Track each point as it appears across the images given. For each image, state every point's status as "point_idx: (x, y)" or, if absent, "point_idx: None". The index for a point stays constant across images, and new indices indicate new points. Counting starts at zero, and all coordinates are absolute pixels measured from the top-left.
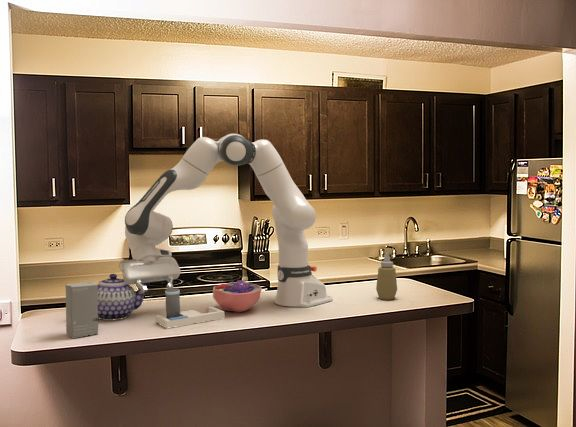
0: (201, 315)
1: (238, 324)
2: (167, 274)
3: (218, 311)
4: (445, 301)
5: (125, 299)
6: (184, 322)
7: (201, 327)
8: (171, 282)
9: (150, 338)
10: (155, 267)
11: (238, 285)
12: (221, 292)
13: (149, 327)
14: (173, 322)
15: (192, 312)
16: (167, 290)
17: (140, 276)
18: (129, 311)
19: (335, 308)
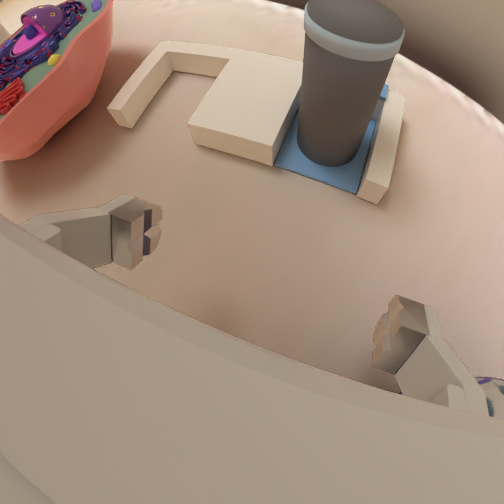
0: (251, 51)
1: (209, 12)
2: (32, 238)
3: (169, 49)
4: (3, 4)
5: (494, 380)
6: None
7: (299, 47)
8: (94, 210)
9: (478, 106)
10: (15, 447)
11: (53, 7)
12: (83, 38)
13: (431, 183)
14: None
15: (232, 94)
16: (394, 25)
17: (478, 427)
18: None
19: None
